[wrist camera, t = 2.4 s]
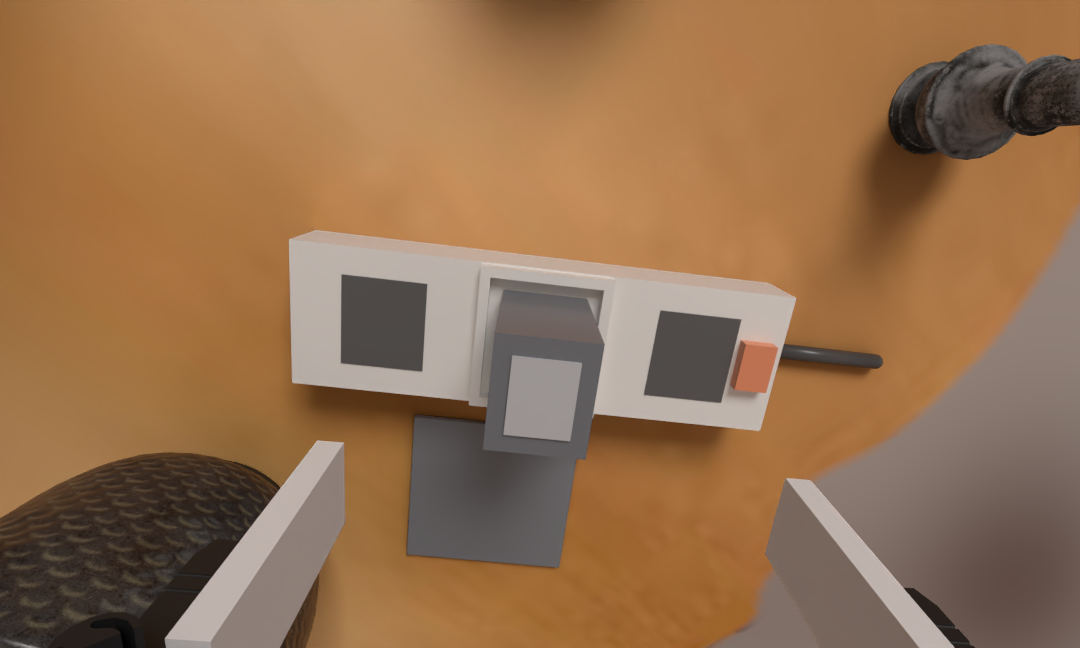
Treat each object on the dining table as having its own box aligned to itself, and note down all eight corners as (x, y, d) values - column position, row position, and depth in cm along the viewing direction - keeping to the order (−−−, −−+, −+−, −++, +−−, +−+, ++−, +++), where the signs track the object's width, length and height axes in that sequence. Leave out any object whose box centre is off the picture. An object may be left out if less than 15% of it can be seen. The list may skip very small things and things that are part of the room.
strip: (316, 359, 37) (286, 388, 32) (316, 229, 34) (282, 241, 30) (856, 416, 39) (900, 450, 34) (896, 297, 36) (949, 318, 31)
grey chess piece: (864, 111, 32) (1046, 86, 21) (946, 33, 31) (1186, -38, 20) (919, 179, 34) (1118, 191, 22) (999, 107, 32) (1253, 80, 21)
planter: (386, 600, 43) (280, 921, 25) (155, 634, 44) (-109, 971, 26) (314, 382, 37) (109, 596, 19) (49, 426, 38) (-391, 672, 20)
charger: (494, 381, 33) (482, 451, 25) (503, 289, 31) (494, 333, 24) (573, 390, 33) (585, 461, 26) (587, 298, 32) (605, 345, 24)
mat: (408, 550, 42) (406, 554, 41) (415, 414, 38) (414, 417, 38) (558, 563, 42) (559, 567, 42) (579, 431, 39) (580, 433, 38)
